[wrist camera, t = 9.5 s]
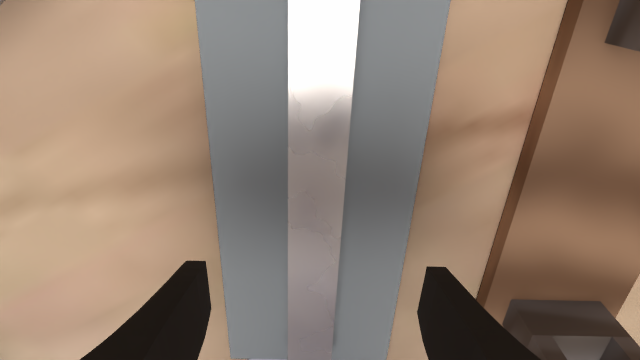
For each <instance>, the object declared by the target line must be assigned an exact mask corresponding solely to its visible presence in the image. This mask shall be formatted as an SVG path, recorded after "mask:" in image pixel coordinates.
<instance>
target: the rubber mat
mask: <svg viewBox="0 0 640 360" xmlns="http://www.w3.org/2000/svg"><path fill="white" fill-rule="evenodd" d="M450 1H451V0H360V6H359V18H358V31H357V43H356V56H355V68H354V81H353V93H352V106H351V118H350V131H349V143H348V156H347V168H346V181H345V193H344V206H343V218H342V231H341V243H340V256H339V268H338V281H337V293H336V306H335V318H334V331H333V344H332V356H331V360H386V359H387V353H388V348H389V342H390V336H391V331H392V325H393V320H394V314H395V308H396V303H397V297H398V292H399V286H400V281H401V275H402V269H403V264H404V258H405V253H406V247H407V241H408V236H409V230H410V225H411V219H412V213H413V208H414V202H415V197H416V191H417V185H418V180H419V174H420V169H421V163H422V157H423V152H424V146H425V141H426V135H427V129H428V124H429V118H430V113H431V107H432V102H433V96H434V90H435V85H436V79H437V74H438V68H439V62H440V57H441V51H442V46H443V40H444V34H445V29H446V23H447V18H448V12H449V6H450ZM195 7H196V17H197V27H198V37H199V47H200V57H201V67H202V77H203V87H204V97H205V107H206V117H207V127H208V137H209V147H210V157H211V167H212V177H213V187H214V197H215V207H216V217H217V227H218V237H219V247H220V257H221V267H222V277H223V287H224V297H225V307H226V317H227V327H228V337H229V347H230V357H231V358H234V359H287V356H288V0H195Z"/></svg>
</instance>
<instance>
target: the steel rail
mask: <svg viewBox="0 0 640 360" xmlns="http://www.w3.org/2000/svg"><path fill="white" fill-rule="evenodd" d="M359 6H360V0H288V356H287V360H331V356H332V344H333V331H334V318H335V306H336V293H337V281H338V268H339V256H340V243H341V231H342V218H343V206H344V193H345V181H346V168H347V156H348V143H349V131H350V118H351V106H352V93H353V81H354V68H355V56H356V43H357V31H358V18H359Z"/></svg>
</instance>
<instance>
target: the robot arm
mask: <svg viewBox="0 0 640 360" xmlns="http://www.w3.org/2000/svg"><path fill="white" fill-rule="evenodd" d="M210 312H211V301H210V293H209V285H208V276H207V268H206V261H186V262H185V263H184V264H183V265H182V266H181V267H180V268H179V269H178V270H177V271H176V272H175V273H174V274H173V275H172V276H171V278H170V279H169V280H168V281H167V282H166V283H165V284H164V285H163V286H162V287H161V288H160V289H159V290H158V291H157V292H156V293H155V294H154V295H153V296H152V297H151V298H150V299H149V300H148V301H147V302H146V303H145V304H144V305H143V306H142V307H141V308H140V309H139V310H138V311H137V312H136V313H135V314H134V315H133V316H132V317H131V318H129V319H128V320H127V321H126V322H125V323H124V324H123V325H122V326H121V327H120V328H118V329H117V330H116V331H115V332H114V333H113V334H112V335H110V336H109V337H108V338H107V339H106V340H104V341H103V342H102V343H101V344H100V345H98V346H97V347H96V348H94V349H93V350H92V351H91V352H89V353H88V354H87V355H85V356H84V357H83V358H81V359H80V360H197V359H198V356H199V353H200V350H201V347H202V345H203V342H204V339H205V335H206V330H207V326H208V321H209V317H210ZM417 314H418V319H419V324H420V330H421V335H422V339H423V343H424V347H425V350H426V353H427V356H428V359H429V360H541V359H540V358H538V357H537V356H536V355H535V354H534V353H532V352H531V351H530V350H529V349H527V348H526V347H525V346H524V345H523V344H522V343H520V342H519V341H518V340H517V339H516V338H515V337H514V336H513V335H511V334H510V333H509V332H508V331H507V330H506V329H505V328H504V327H503V326H502V325H501V324H500V323H499V322H497V321H496V320H495V319H494V318H493V317H492V316H491V315H490V314H489V313H488V312H487V311H486V310H485V309H484V308H483V307H482V306H481V305H480V304H479V303H478V301H477V300H476V299H475V298H474V297H473V296H472V295H471V294H470V293H469V292H468V291H467V290H466V289H465V288H464V287H463V285H462V284H461V283H460V282H459V281H458V280H457V279H456V278H455V277H454V276H453V275H452V273H451V272H450V271H449V270H448V269H447V268H446V267H427V269H426V274H425V278H424V283H423V288H422V292H421V297H420V302H419V306H418V311H417ZM248 360H287V359H248Z"/></svg>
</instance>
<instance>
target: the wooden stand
mask: <svg viewBox="0 0 640 360" xmlns="http://www.w3.org/2000/svg"><path fill="white" fill-rule="evenodd" d="M639 274H640V0H568V3H567V6H566V9H565V13H564V16H563V19H562V22H561V26H560V29H559V32H558V36H557V39H556V42H555V45H554V49H553V52H552V55H551V58H550V62H549V65H548V68H547V71H546V75H545V78H544V81H543V84H542V88H541V91H540V94H539V97H538V101H537V104H536V107H535V110H534V114H533V117H532V120H531V123H530V127H529V130H528V133H527V136H526V140H525V143H524V146H523V149H522V153H521V156H520V159H519V162H518V166H517V169H516V172H515V176H514V179H513V182H512V185H511V189H510V192H509V195H508V198H507V202H506V205H505V208H504V211H503V215H502V218H501V221H500V224H499V228H498V231H497V234H496V237H495V241H494V244H493V247H492V250H491V254H490V257H489V260H488V263H487V267H486V270H485V273H484V276H483V280H482V283H481V286H480V289H479V293H478V296H477V299H476V300H477V301H478V303H479V304H480V305H481V306H482V307H483V308H484V309H485V310H486V311H487V312H488V313H489V314H490V315H491V316H492V317H493V318H494V319H495V320H496V321H497V322H499V323H500V324H501V325H502V326H503V327H504V328H505V329H506V330H507V331H508V332H509V333H510V334H511V335H513V336H514V337H515V338H516V339H517V340H518V341H519V342H520V343H522V344H523V345H524V346H525V347H526V348H527V349H529V350H530V351H531V352H532V353H534V354H535V355H536V356H537V357H538V358H540V359H541V360H640V347H639V346H638V344H637V343H636V342H635V341H634V340H633V339H632V337H631V336H630V335H629V334H628V333H627V332H626V330H625V329H624V328H623V327H622V326H621V325H620V324H619V322H618V321H617V320H616V319H615V318H616V316H617V314H618V312H619V310H620V309H621V307H622V305H623V303H624V301H625V299H626V298H627V296H628V294H629V292H630V290H631V288H632V287H633V285H634V283H635V281H636V279H637V278H638V276H639Z"/></svg>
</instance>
